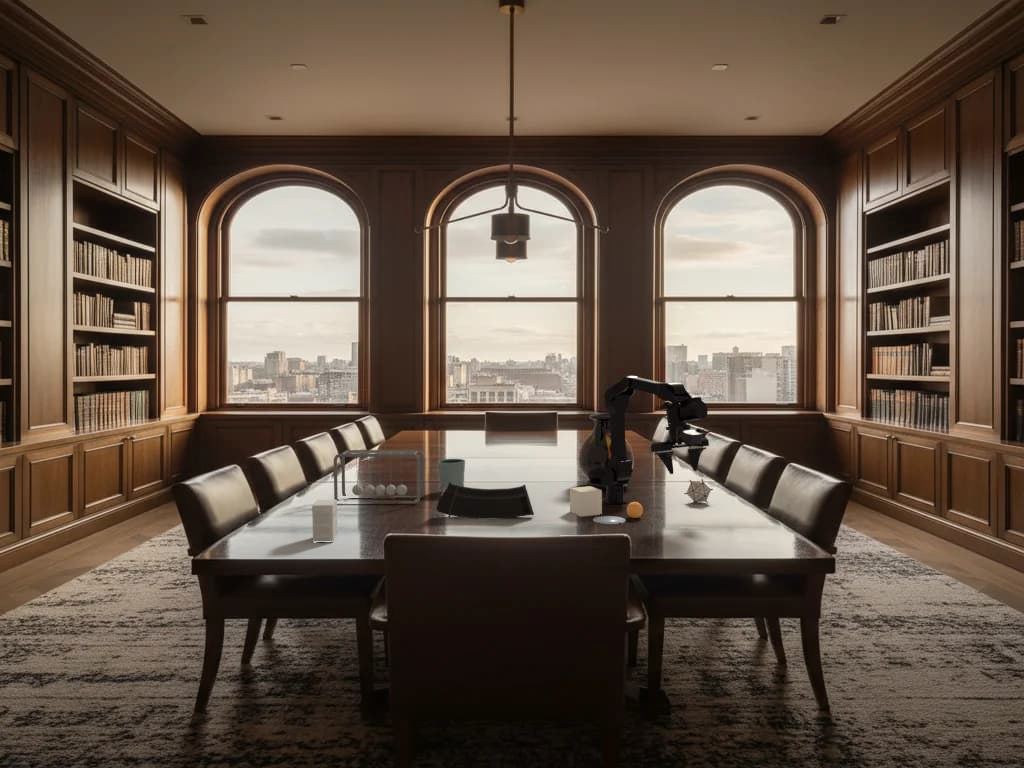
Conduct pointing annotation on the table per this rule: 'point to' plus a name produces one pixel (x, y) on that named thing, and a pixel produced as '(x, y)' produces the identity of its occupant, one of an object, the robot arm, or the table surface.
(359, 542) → the table surface
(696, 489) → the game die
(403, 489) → the newton's cradle
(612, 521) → the disc
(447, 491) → the curved black tray
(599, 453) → the amphora vase
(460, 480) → the green cup
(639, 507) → the ball
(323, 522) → the small box
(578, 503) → the block
